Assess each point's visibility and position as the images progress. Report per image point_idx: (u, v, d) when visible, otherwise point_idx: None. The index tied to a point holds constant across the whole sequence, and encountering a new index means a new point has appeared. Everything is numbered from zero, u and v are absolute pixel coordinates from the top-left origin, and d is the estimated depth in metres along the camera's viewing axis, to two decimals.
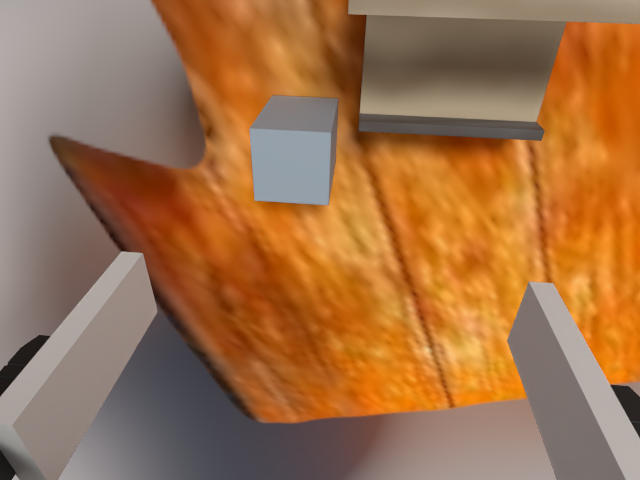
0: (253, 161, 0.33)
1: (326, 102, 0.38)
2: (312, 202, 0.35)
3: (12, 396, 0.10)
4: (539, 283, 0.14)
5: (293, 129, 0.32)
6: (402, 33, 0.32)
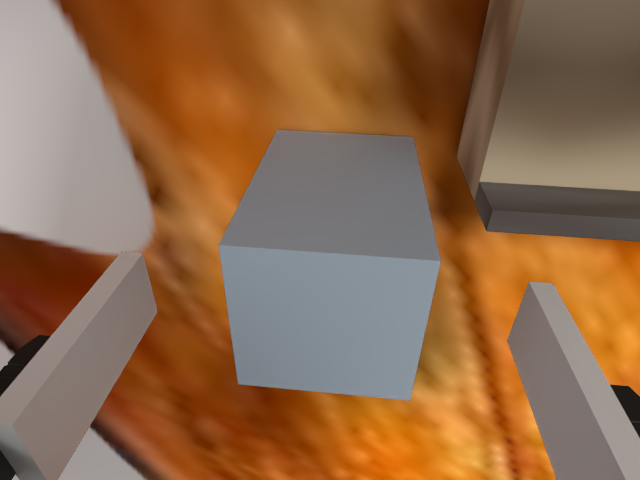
0: (230, 314, 0.13)
1: (393, 147, 0.18)
2: (372, 394, 0.15)
3: (12, 396, 0.10)
4: (539, 283, 0.14)
5: (335, 246, 0.12)
6: None
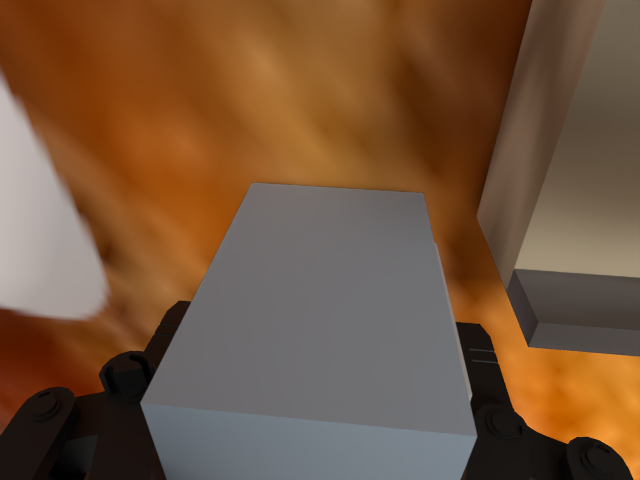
0: (170, 478, 0.09)
1: (399, 211, 0.14)
2: None
3: None
4: None
5: (317, 404, 0.08)
6: None
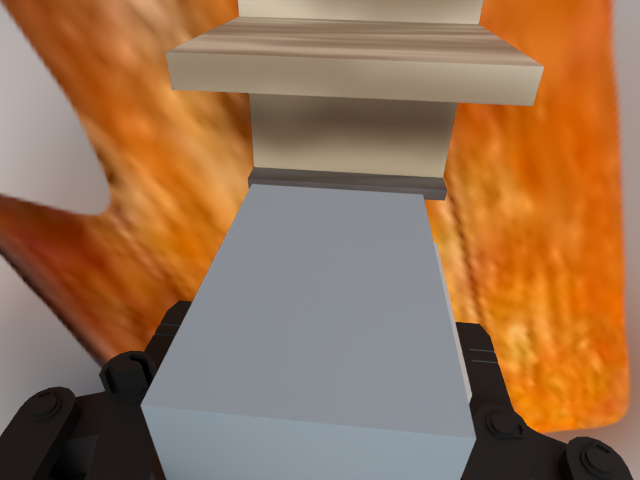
0: None
1: (398, 213, 0.14)
2: None
3: None
4: None
5: (316, 406, 0.08)
6: None
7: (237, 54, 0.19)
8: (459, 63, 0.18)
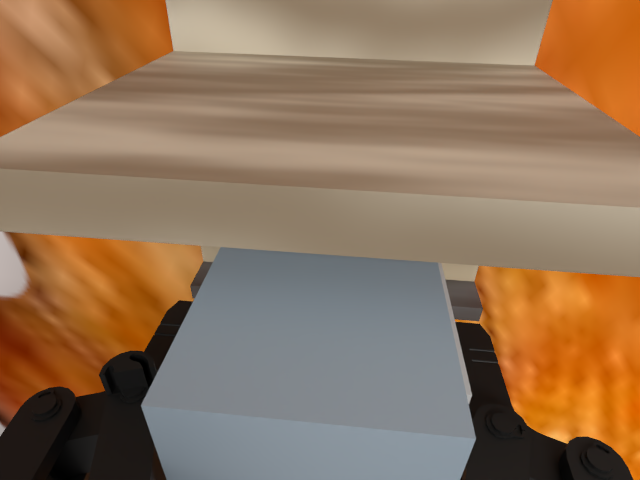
0: (170, 479, 0.09)
1: None
2: None
3: None
4: None
5: (316, 407, 0.08)
6: None
7: (91, 172, 0.09)
8: (562, 202, 0.08)
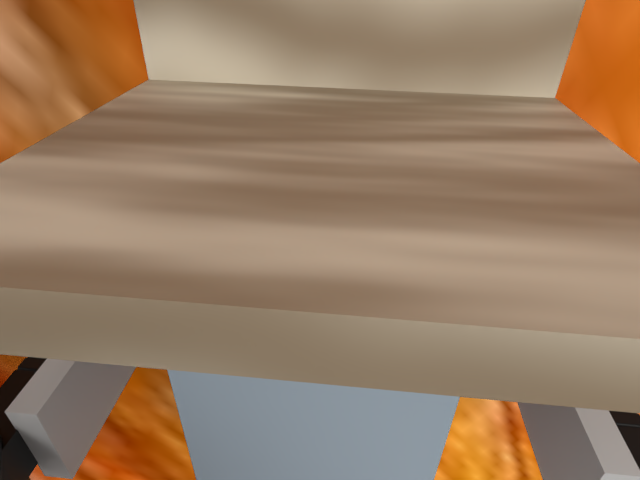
0: (186, 430, 0.10)
1: None
2: None
3: (35, 387, 0.10)
4: None
5: None
6: None
7: (0, 282, 0.07)
8: (628, 336, 0.06)
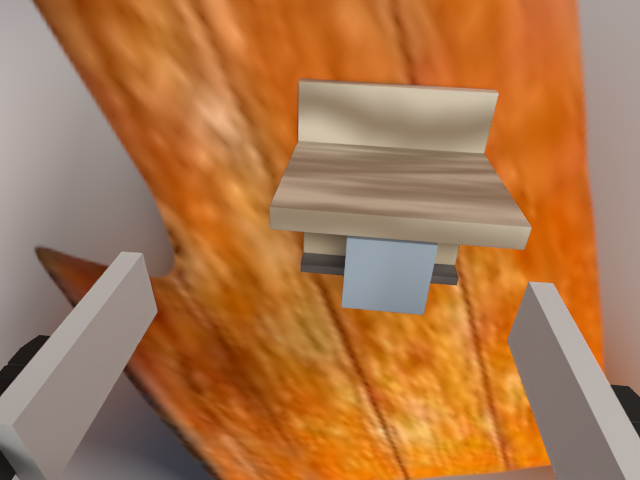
0: (345, 270, 0.30)
1: None
2: (405, 311, 0.32)
3: (12, 396, 0.10)
4: (539, 283, 0.14)
5: (394, 239, 0.29)
6: None
7: (319, 210, 0.27)
8: (473, 222, 0.26)
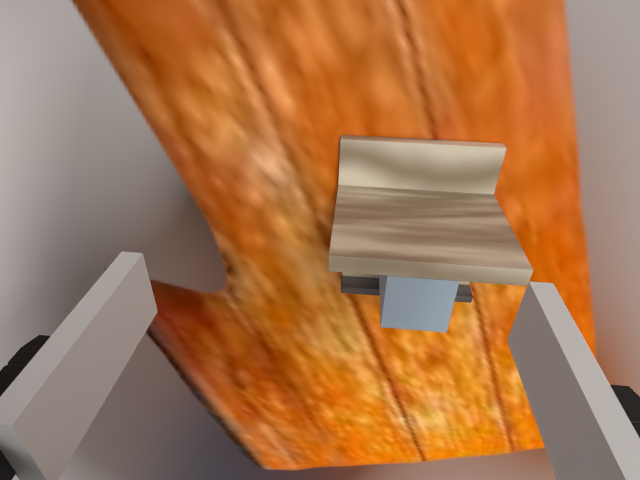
0: (385, 299, 0.38)
1: None
2: (432, 330, 0.39)
3: (12, 396, 0.10)
4: (539, 283, 0.14)
5: None
6: None
7: (368, 257, 0.35)
8: (488, 266, 0.34)
